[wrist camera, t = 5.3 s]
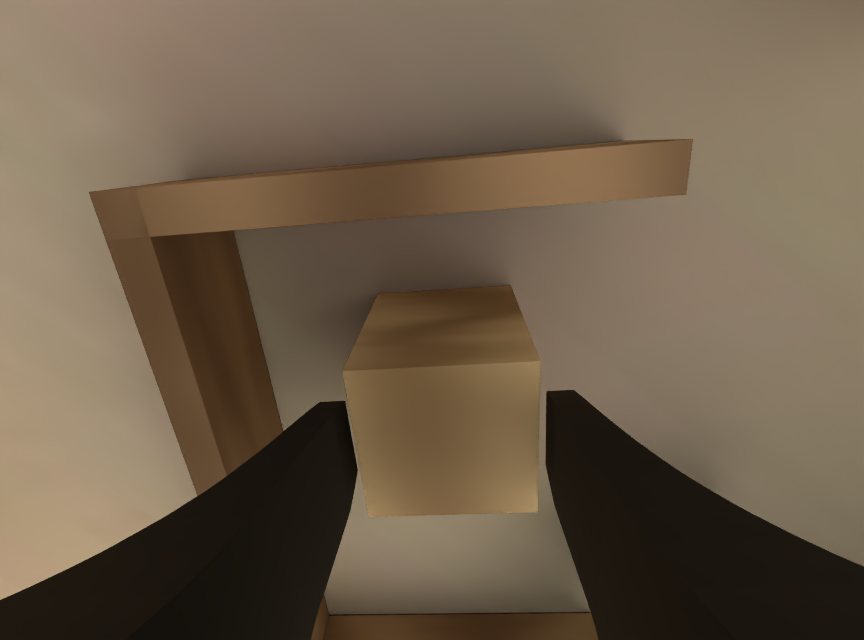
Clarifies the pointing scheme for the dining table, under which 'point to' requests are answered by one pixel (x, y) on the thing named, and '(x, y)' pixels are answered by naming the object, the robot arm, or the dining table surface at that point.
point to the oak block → (446, 404)
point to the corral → (235, 323)
